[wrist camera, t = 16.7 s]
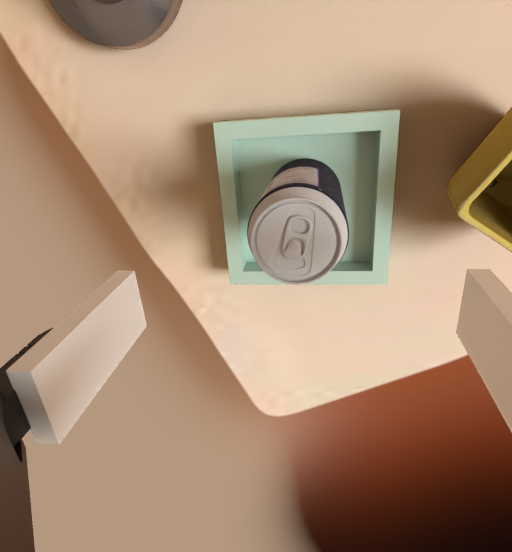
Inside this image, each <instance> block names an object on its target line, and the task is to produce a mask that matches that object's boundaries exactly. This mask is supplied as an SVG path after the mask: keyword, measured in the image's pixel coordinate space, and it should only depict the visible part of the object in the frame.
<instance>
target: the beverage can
mask: <svg viewBox="0 0 512 552" xmlns="http://www.w3.org/2000/svg"><path fill="white" fill-rule="evenodd" d="M247 238H248V244H249V247H250V250H251V252H252V254H253V256H254V259H255V260H256V262H257V264H258V265H259V266H260V268H261V269H262V270H263V271H264V272H265V273H266V274H267V275H269V276H270V277H272V278H273V279H275V280H277V281H280V282H283V283H287V284H294V285H300V284H307V283H312V282H314V281H317V280H319V279H321V278H322V277H324V276H325V275H326V274H328V273H329V272H330V271H331V270H332V269H333V268H334V267H335V266H336V265H337V264H338V263H339V262H340V260H341V259H342V257H343V255H344V253H345V251H346V248H347V245H348V241H349V226H348V221H347V216H346V211H345V206H344V201H343V196H342V191H341V186H340V182H339V180H338V178H337V176H336V174H335V173H334V171H333V170H332V169H331V168H330V167H329V166H327V165H326V164H324V163H323V162H321V161H318V160H315V159H310V158H301V159H296V160H293V161H290V162H288V163H286V164H285V165H283V166H282V167H281V168H280V169H279V170H278V171H277V172H276V173H275V175H274V176H273V178H272V180H271V181H270V183H269V185H268V186H267V188H266V190H265V191H264V193H263V195H262V196H261V198H260V200H259V201H258V203H257V204H256V206H255V208H254V209H253V211H252V213H251V216H250V218H249V222H248V228H247Z"/></svg>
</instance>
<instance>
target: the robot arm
mask: <svg viewBox="0 0 512 552" xmlns="http://www.w3.org/2000/svg"><path fill="white" fill-rule="evenodd" d="M145 327H146V321H145V316H144V312H143V307H142V303H141V299H140V294H139V289H138V285H137V281H136V276H135V272H134V271H117V272H116V273H114V274H113V275H112V276H111V277H110V278H109V279H108V280H107V281H105V282H104V283H103V284H102V285H101V286H100V287H99V288H98V289H97V290H96V291H94V292H93V293H92V294H91V295H90V296H89V297H88V298H86V299H85V300H84V301H83V302H82V303H81V304H80V305H79V306H77V307H76V308H75V309H74V310H73V311H72V312H71V313H70V314H69V315H67V316H66V317H65V318H64V319H63V320H62V321H61V322H60V323H59V324H57V325H56V326H55V327H54V328H51V329H49V330H47V331H45V332H44V333H42V334H40V335H38V336H37V337H36V338H35V339H33V340H32V341H31V342H30V343H29V344H28V346H27V347H24V348H23V349H22V350H21V351H20V352H19V354H16V355H15V356H14V357H13V358H12V359H10V360H9V361H8V362H7V363H6V364H5V365H4V366H2V367H1V368H0V552H35V549H34V536H33V525H32V514H31V503H30V491H29V480H28V470H27V458H26V448H25V445H24V442H23V440H22V438H23V436H24V435H25V434H26V433H27V432H28V431H29V429H31V431H32V434H33V436H34V438H35V441H36V443H43V444H56V445H59V444H60V443H61V442H62V440H63V439H64V437H65V436H66V435H67V433H68V432H69V431H70V429H71V428H72V427H73V425H74V424H75V423H76V421H77V420H78V418H79V417H80V416H81V414H82V413H83V412H84V410H85V409H86V407H87V406H88V405H89V404H90V402H91V401H92V399H93V398H94V397H95V395H96V394H97V393H98V391H99V390H100V389H101V387H102V386H103V384H104V383H105V382H106V380H107V379H108V378H109V376H110V375H111V374H112V372H113V371H114V370H115V368H116V367H117V365H118V364H119V363H120V361H121V360H122V359H123V357H124V356H125V354H126V353H127V352H128V351H129V349H130V348H131V346H132V345H133V344H134V342H135V341H136V340H137V338H138V337H139V336H140V334H141V333H142V331H143V330H144V329H145ZM456 333H457V335H458V337H459V338H460V340H461V342H462V344H463V346H464V347H465V349H466V351H467V353H468V355H469V356H470V358H471V360H472V362H473V364H474V365H475V367H476V369H477V371H478V373H479V374H480V376H481V378H482V380H483V382H484V383H485V385H486V387H487V389H488V391H489V392H490V394H491V396H492V398H493V399H494V401H495V403H496V405H497V407H498V408H499V410H500V412H501V414H502V416H503V418H504V419H505V421H506V423H507V425H508V426H509V428H510V430H511V432H512V293H511V292H510V291H509V290H508V289H507V287H506V286H505V285H504V284H503V283H502V282H501V281H500V280H499V279H498V278H497V277H496V276H495V275H494V274H493V272H492V271H491V270H490V269H467V273H466V279H465V285H464V290H463V296H462V302H461V308H460V314H459V320H458V325H457V331H456Z"/></svg>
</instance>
